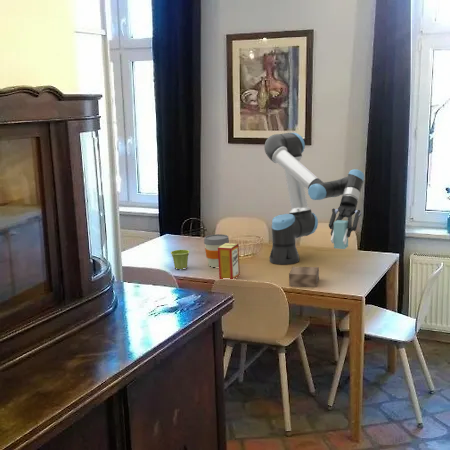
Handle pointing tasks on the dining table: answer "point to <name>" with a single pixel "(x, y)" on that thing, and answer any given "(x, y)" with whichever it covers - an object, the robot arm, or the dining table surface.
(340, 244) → the teal wooden block
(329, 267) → the dining table surface
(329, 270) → the dining table surface
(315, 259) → the dining table surface
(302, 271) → the walnut block
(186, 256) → the plant pot
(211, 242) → the reusable coffee cup
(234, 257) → the baking soda box
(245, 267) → the dining table surface
